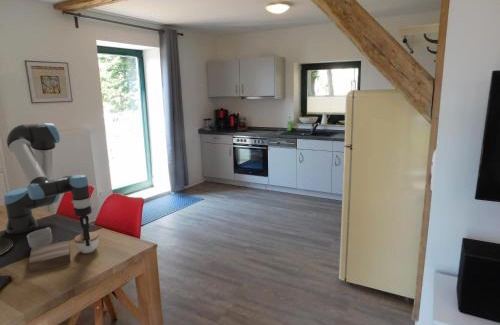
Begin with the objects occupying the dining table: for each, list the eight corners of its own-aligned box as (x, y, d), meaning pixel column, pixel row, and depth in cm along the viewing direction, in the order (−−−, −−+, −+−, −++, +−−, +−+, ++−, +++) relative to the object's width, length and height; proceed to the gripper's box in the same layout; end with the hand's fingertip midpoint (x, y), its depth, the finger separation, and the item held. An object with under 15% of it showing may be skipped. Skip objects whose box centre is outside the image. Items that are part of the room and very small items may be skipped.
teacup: (41, 252, 161) (39, 238, 159) (23, 250, 163) (20, 236, 162) (62, 240, 174) (60, 226, 173) (45, 238, 177) (43, 225, 175)
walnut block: (33, 257, 158) (31, 248, 157) (70, 249, 165) (68, 240, 164) (30, 273, 144) (28, 263, 143) (70, 263, 152) (69, 254, 151)
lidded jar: (104, 249, 165) (102, 232, 163) (83, 258, 156) (81, 240, 154) (92, 243, 171) (90, 227, 168) (72, 251, 162) (69, 234, 160)
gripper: (73, 200, 167) (78, 238, 171) (74, 216, 145) (80, 258, 150) (89, 197, 170) (93, 234, 175) (92, 212, 149) (98, 254, 154)
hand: (87, 245), depth 163 cm, fingers open, 13 cm apart
